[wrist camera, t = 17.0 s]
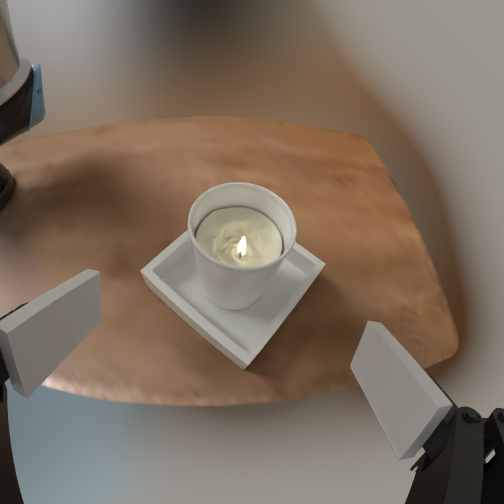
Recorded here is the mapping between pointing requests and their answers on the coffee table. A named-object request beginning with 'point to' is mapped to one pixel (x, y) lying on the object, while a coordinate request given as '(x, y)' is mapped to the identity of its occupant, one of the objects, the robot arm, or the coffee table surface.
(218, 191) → the candle holder
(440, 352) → the coffee table surface
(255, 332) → the lipped tray
